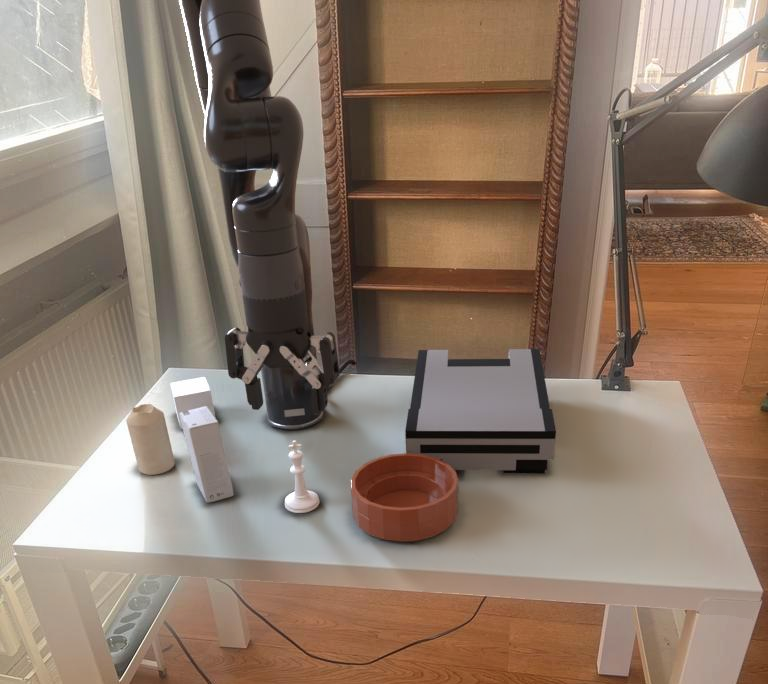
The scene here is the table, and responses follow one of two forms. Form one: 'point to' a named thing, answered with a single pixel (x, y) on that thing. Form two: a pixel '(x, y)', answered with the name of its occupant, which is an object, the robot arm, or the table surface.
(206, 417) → the cosmetic box
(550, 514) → the table surface
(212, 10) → the robot arm
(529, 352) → the game console
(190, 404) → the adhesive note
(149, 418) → the candle
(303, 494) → the chess piece
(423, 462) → the bowl
